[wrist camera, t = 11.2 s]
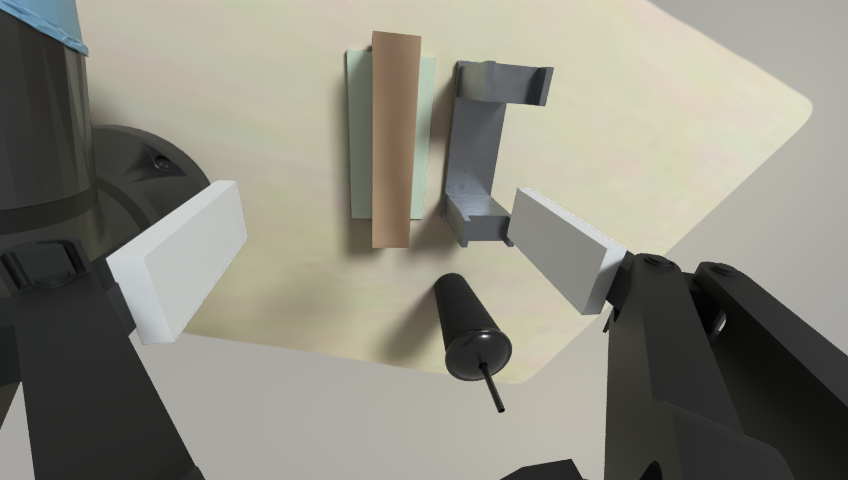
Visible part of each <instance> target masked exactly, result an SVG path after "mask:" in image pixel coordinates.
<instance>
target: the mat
mask: <svg viewBox="0 0 848 480" xmlns="http://www.w3.org/2000/svg"><path fill="white" fill-rule="evenodd" d="M435 65H436V58H428V57H420V67H419V83H418V100H417V116H416V133H415V149H414V166H413V182H412V199H411V215H410V219H423V214H424V202H425V189H426V177H427V164H428V152H429V140H430V127H431V115H432V102H433V90H434V77H435ZM347 73H348V108H349V144H350V179H351V215H352V218H366V219H372V52H370V51H360V50H350V49H347Z"/></svg>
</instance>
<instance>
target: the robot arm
mask: <svg viewBox="0 0 848 480" xmlns="http://www.w3.org/2000/svg"><path fill="white" fill-rule="evenodd" d="M85 56H86V57H89V56H88V48H87V47H86V46H85V45H84V44H83V41H82V36H81V30H80V25H79V20H78V14H77V9H76V2H75V0H0V429H1V426H2V424H3V422H4V419H5V417H6V414H7V412H8V410H9V407H10V405H11V403H12V400H13V398H14V395H15V393H16V390H17V388H18V386H19V384H20V382H22V385H23V392H24V399H25V407H26V414H27V422H28V430H29V438H30V445H31V452H32V460H33V467H34V475H35V480H205V478H204V477H203V475H202V473H201V471H200V470H199V468H198V467H196V466H195V464H194V462H193V460H192V458H191V456H190V455H189V453H188V451H187V449H186V447H185V445H184V443H183V441H182V439H181V437H180V435H179V433H178V431H177V429H176V428H175V426H174V424H173V422H172V420H171V418H170V416H169V414H168V412H167V410H166V409H165V406H164V404H163V403H162V401H161V399H160V397H159V395H158V393H157V391H156V389H155V387H154V385H153V383H152V381H151V379H150V377H149V376H148V374H147V372H146V370H145V368H144V366H143V364H142V362H141V360H140V358H139V356H138V354H137V353H136V351H135V349H134V347H133V345H132V343H131V341H130V339H129V337H128V336H129V335H130V333H131V332H132V331H133V330H134V329H135V328H136V330H137V333H138V335H139V338H140V340H141V342H142V344H143V345H146V344H160V343H174V342H175V340H176V339H177V338H178V336H179V335H180V333H181V332H182V331H183V329H184V328H185V326H186V325H187V323H188V322H189V321H190V319H191V318H192V316H193V315H194V314H195V312H196V311H197V309H198V308H199V306H200V305H201V304H202V302H203V301H204V299H205V298H206V297H207V295H208V294H209V292H210V291H211V289H212V288H213V287H214V285H215V284H216V282H217V281H218V280H219V278H220V277H221V275H222V274H223V273H224V271H225V270H226V268H227V267H228V265H229V264H230V263H231V261H232V260H233V258H234V257H235V256H236V254H237V253H238V251H239V250H240V248H241V247H242V246H243V244H244V243H245V241H246V240H247V239H248V238H247V233H246V228H245V222H244V217H243V212H242V206H241V201H240V196H239V191H238V185H237V181H215V182H214V183H213V184H210V182H209V180H208V179H207V177H206V176H205V174H204V173H203V171H202V170H201V169H200V168H199V166H198V165H197V164H196V163H195V162H194V161H193V160H192V159H191V158H190V157H189V156H188V155H186V154H185V153H184V152H183V151H181V150H180V149H179V148H177V147H176V146H174V145H173V144H171V143H170V142H168V141H166V140H164V139H162V138H160V137H158V136H156V135H154V134H151V133H149V132H146V131H143V130H140V129H136V128H131V127H126V126H117V125H102V126H94V127H91V120H90V111H89V99H88V87H87V75H86V63H85ZM507 237H508V238H509V239H510V240H511V241H512V242H513V243H514V244H515V245H516V246H517V247H518V249H519V250H520V251H521V252H522V253H523V254H524V255H525V256H526V257H527V258H528V259H529V260H530V261H531V262H532V263H533V264H534V265H535V266H536V267H537V268H538V270H539V271H540V272H541V273H542V274H543V275H544V276H545V277H546V278H547V279H548V280H549V281H550V282H551V283H552V284H553V285H554V286H555V287H556V288H557V289H558V290H559V292H560V293H561V294H562V295H563V296H564V297H565V298H566V299H567V300H568V301H569V302H570V303H571V304H572V305H573V306H574V307H575V308H576V309H577V310H578V311H579V313H580V314H581V315H592V314H600V313H601V311H602V308H603V306H604V304H605V301H606V300H607V301H608V302H609V303H610V304H611V305H613V309H612V311H611V314H610V316H609V318H608V320H607V323H606V325H605V327H604V330H603V332H605V333H606V332H607V330H609V347H608V348H609V349H608V376H607V378H608V379H607V407H606V439H605V469H604V480H848V356H847V355H846V354H845V353H843V352H842V351H841V350H839V349H838V348H837V347H836V346H834V345H833V344H832V343H830V342H829V341H828V340H827V339H826V338H824V337H823V336H822V335H821V334H819V333H818V332H817V331H816V330H814V329H813V328H812V327H811V326H809V325H808V324H807V323H806V322H804V321H803V320H802V319H801V318H799V317H798V316H797V315H796V314H794V313H793V312H792V311H791V310H789V309H788V308H787V307H786V306H784V305H783V304H782V303H780V302H779V301H778V300H777V299H776V298H774V297H773V296H772V295H771V294H769V293H768V292H767V291H766V290H764V289H763V288H762V287H761V286H759V285H758V284H757V283H756V282H754V281H753V280H752V279H751V278H749V277H748V276H747V275H745V274H744V273H742V272H740V271H738V270H736V269H735V268H734V267H731V266H729V265H726V264H723V263H714V262H701V263H700V264H699V266H698V268H697V269H696V271H695V273H694V274H692V273H686V272H681V269H680V268H679V266H678V265H676V264H675V263H674V262H672V261H670V260H668V259H666V258H664V257H662V256H659V255H652V254H646V253H640V254H636V255H634V254H632V253H631V252H629V251H628V250H627V248H626V247H624V246H623V245H621V244H619V243H618V242H616V241H615V240H613V239H611V238H610V237H608V236H607V235H605V234H603V233H602V232H600V231H599V230H597V229H595V228H594V227H592V226H590V225H589V224H587V223H586V222H584V221H582V220H581V219H579V218H578V217H576V216H574V215H573V214H571V213H570V212H568V211H566V210H565V209H563V208H562V207H560V206H558V205H557V204H555V203H554V202H552V201H550V200H549V199H547V198H546V197H544V196H542V195H541V194H539V193H538V192H536V191H534V190H533V189H531V188H517V192H516V196H515V201H514V205H513V210H512V214H511V219H510V223H509V228H508V233H507ZM725 319H726V322H725V325H724V327H723V328H722V330H721V331H719V328H720V327H721V325H722V324H723V322H724V320H725ZM500 480H587V479H583V478H582V477H581V475H580V473H579V471H578V470H577V468H576V466H575V464H574V462H573V461H572V459H568V460H561V461H556V462H549V463H544V464H539V465H532V466H526V467H522V468H520V469H518V470H516V471H515V472H513V473H511V474H509V475H507V476H506V477H504V478H502V479H500Z"/></svg>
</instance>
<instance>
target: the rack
mask: <svg viewBox="0 0 848 480" xmlns="http://www.w3.org/2000/svg"><path fill="white" fill-rule="evenodd" d="M553 69H554V68H553V67H541V68H537V67H527V66H517V65H508V64H498V63H496V61H485V62H482V63H479V62H469V61H458V63H457V73H456V82H455V91H454V101H453V110H452V119H451V129H450V138H449V147H448V157H447V166H446V175H445V185H444V194H443V203H442V213H441V218H442V220H447V221H448V223H449V224H450V226H451V228H452V229H453V231H454V233H455V235H456V236H457V238H458V242H459V244H460V245H461V247H467V245H468V241H503V242H504V243H505V244H506V245H507V246H508V247H513V246H514V243H513V242H512V241H511V240H510V239H509V238H508V237H507V233H508V228H509V223H510V219H511V215H510V214H509V213H508V212H507V211H506V210H505V209H504V208H503V207H502V206H501V205H499V204H498V203H497V202H496V201H495V200H494V199H493V198H492V197H491V196H490V195H491V189H492V183H493V178H494V172H495V166H496V161H497V155H498V149H499V144H500V138H501V132H502V127H503V121H504V115H505V110H506V104H507V103H515V104H528V105H537V106H545V105H546V100H547V96H548V92H549V87H550V83H551V78H552V74H553Z"/></svg>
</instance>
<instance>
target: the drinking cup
mask: <svg viewBox="0 0 848 480" xmlns="http://www.w3.org/2000/svg"><path fill="white" fill-rule="evenodd" d="M435 295H436V301H437V306H438V312H439V317H440V323H441V329H442V334H443V340H444V346H445V351H446V355H445V364H446V367H447V370H448V371H449V373H450V374H451V375H452V376H454V377H455V378H457V379H460V380H464V381H478V380H483V379H485V380H486V383H487V385H488V388H489V390H490V393H491V395H492V398H493V400H494V403H495V405H496V407H497V410H498V412H499V413H502V412H504V411H505V408H504V406H503V403H502V401H501V399H500V396H499V394H498V392H497V389H496V387H495V385H494V382H493V380H492V378H491V376H493V375H495V374H496V373H498V372H499V371H500V370H501V369H503V368H504V367H505V365H506V364H507V363H508V361H509V359H510V357H511V354H512V345H511V342H510V340H509V338H508V337H507V336H506V335H505V334H504V333H503V332H501V331H500V329H499V328H498V326H497V325H496V323H495V322H494V321H493V319H492V318H491V316H490V315H489V313H488V312H487V311H486V309H485V308H484V306H483V305H482V303H481V302H480V300H479V299H478V298H477V296H476V295H475V293H474V292H473V290H472V289H471V288H470V286H469V285H468V283H467V282H466V280H465V279H464V278H463V277H462V276H461V275H459V274H456V273H449V274H446V275H443V276H442V277H440V278H439V279H438V281H437V282H436V284H435Z"/></svg>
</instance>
